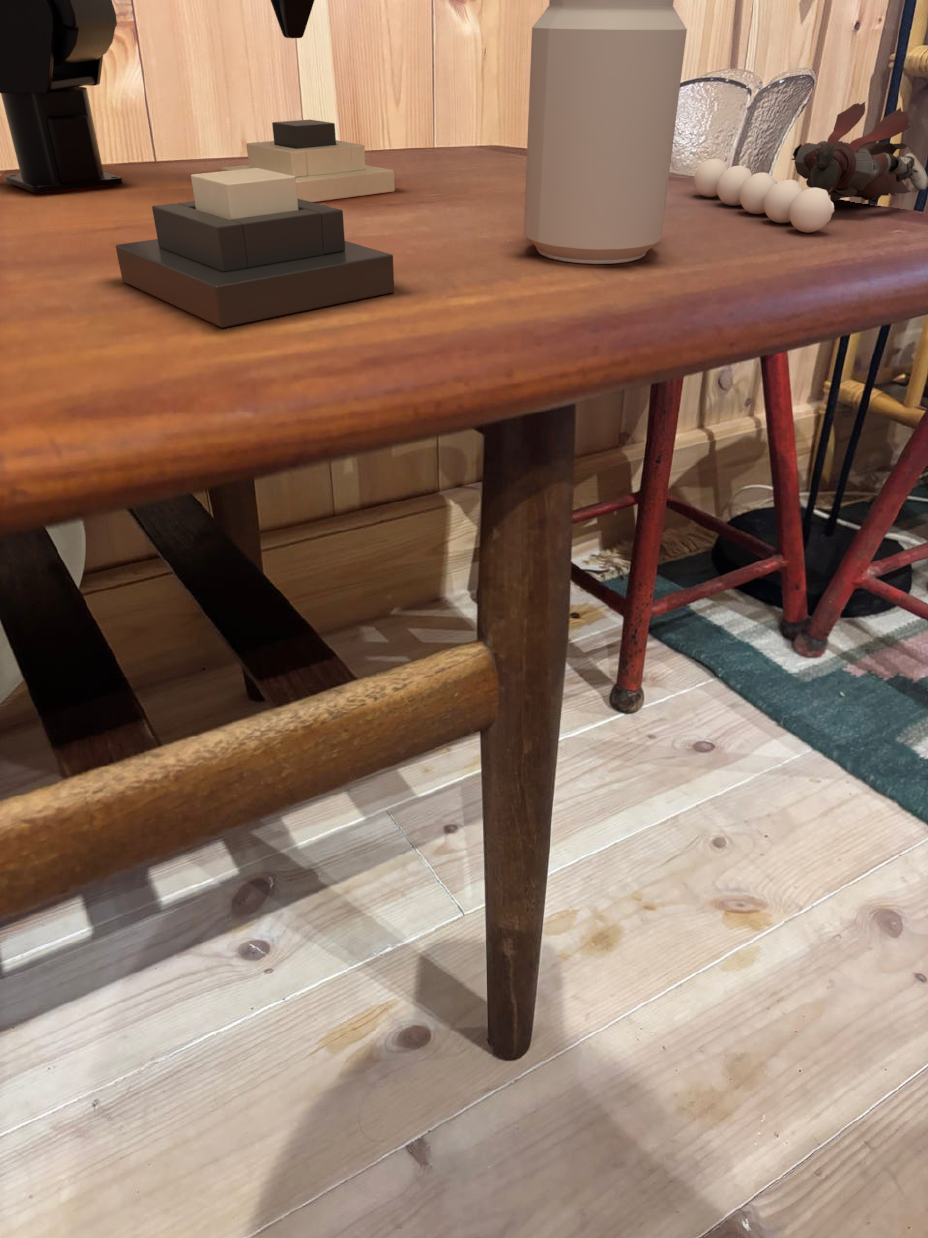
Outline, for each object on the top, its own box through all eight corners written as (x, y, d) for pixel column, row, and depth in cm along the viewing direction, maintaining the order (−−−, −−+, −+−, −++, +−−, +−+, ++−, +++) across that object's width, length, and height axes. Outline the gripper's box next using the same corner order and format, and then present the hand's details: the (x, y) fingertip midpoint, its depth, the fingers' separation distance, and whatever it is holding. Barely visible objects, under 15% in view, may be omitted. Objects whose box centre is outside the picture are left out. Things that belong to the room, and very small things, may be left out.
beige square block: (196, 216, 41) (190, 174, 40) (261, 207, 43) (257, 167, 42) (232, 227, 39) (227, 183, 38) (299, 218, 41) (295, 175, 40)
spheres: (723, 156, 64) (715, 194, 65) (691, 155, 64) (685, 193, 65) (847, 191, 52) (835, 236, 53) (810, 190, 52) (798, 235, 53)
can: (689, 256, 49) (726, -15, 42) (583, 274, 45) (606, -19, 38) (597, 232, 54) (617, -14, 47) (495, 246, 50) (502, -16, 44)
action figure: (821, 189, 70) (746, 203, 57) (840, 100, 67) (765, 94, 54) (931, 198, 67) (878, 215, 54) (956, 104, 64) (907, 99, 50)
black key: (274, 149, 65) (271, 122, 64) (312, 146, 66) (310, 119, 65) (298, 154, 63) (295, 125, 62) (336, 150, 64) (334, 122, 63)
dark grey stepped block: (122, 281, 44) (106, 203, 42) (282, 255, 48) (275, 183, 46) (221, 328, 37) (208, 238, 35) (395, 292, 42) (392, 211, 40)
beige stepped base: (223, 188, 66) (217, 142, 65) (326, 176, 71) (323, 133, 69) (288, 205, 61) (283, 155, 59) (395, 191, 65) (393, 145, 64)
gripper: (64, -279, 53) (120, 36, 62) (216, -359, 41) (258, 43, 50) (233, -249, 59) (262, 34, 68) (407, -311, 47) (415, 40, 56)
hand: (293, 37), depth 60 cm, fingers closed
